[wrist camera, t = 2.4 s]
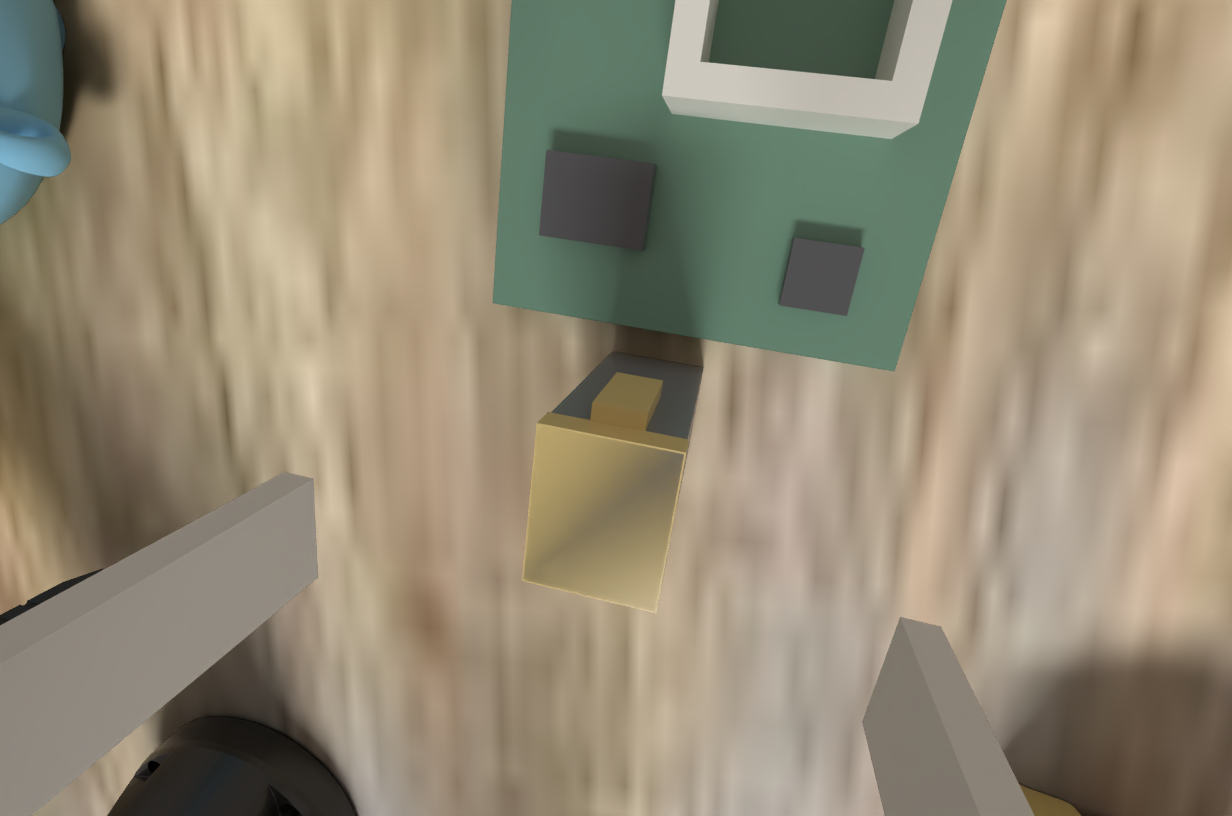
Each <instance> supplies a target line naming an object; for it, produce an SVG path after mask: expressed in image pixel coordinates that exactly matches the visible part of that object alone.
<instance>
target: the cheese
mask: <svg viewBox="0 0 1232 816" xmlns="http://www.w3.org/2000/svg"><path fill="white" fill-rule="evenodd" d="M1020 787H1021V789H1022V791H1023V793H1024V795H1025V797H1026V799H1027V801H1028V803H1029V806H1030V808H1031V810H1032V812H1033V814H1034V816H1081V815H1080V814H1079V812H1078V811H1077V810H1076V809H1075V807H1074V806H1072V805H1071V804H1070V803H1067V802H1065V801H1063V800H1060V799H1057V798H1054V797H1052V796H1049V795H1047V794H1044V793H1041V792H1038V791H1035V790H1032V789H1029V788H1026V787H1024V786H1022V785H1020Z"/></svg>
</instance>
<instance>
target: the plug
mask: <svg viewBox="0 0 1232 816" xmlns="http://www.w3.org/2000/svg"><path fill="white" fill-rule="evenodd" d="M702 373H703V367H697V366H691V365H686V364H680V363H674V362H669V361H663V360H658V359H652V358H646V357H641V356H635V355H629V354H624V353H618V352H613V351H612V352H611V353H610V354H609V355H608V356H607V357H606V358H605V359H604V360H603V361H602V362H601V363H600V364H599V365H598V366H597V367H596V368H595V369H594V370H593V371H592V372H591V373H590V374H589V375H588V376H587V377H586V378H585V379H584V380H583V381H582V382H581V383H580V384H579V385H578V386H577V387H576V388H575V389H574V390H573V391H572V392H571V393H570V394H569V395H568V396H567V397H566V398H565V399H564V400H563V401H562V402H561V403H560V404H559V405H558V406H557V407H556V408H555V409H554V410H553V411H552V412H548V413H547V414H546V415H545V416H544V417H543V418H542V419H541V420H539V421H538V422H537V428H536V439H535V449H534V460H533V470H532V481H531V491H530V502H529V512H528V523H527V533H526V544H525V554H524V565H523V575H522V581H525V582H529V583H533V584H538V585H542V586H546V587H550V588H554V589H558V590H562V591H566V592H570V593H575V594H579V595H583V596H587V597H591V598H595V599H599V600H603V601H608V602H612V603H616V604H620V605H624V606H628V607H632V608H636V609H640V610H645V611H649V612H653V613H656V611H657V606H658V601H659V596H660V591H661V586H662V581H663V575H664V570H665V565H666V560H667V554H668V549H669V544H670V538H671V533H672V528H673V523H674V517H675V512H676V507H677V502H678V497H679V493H680V488H681V483H682V478H683V473H684V468H685V463H686V458H687V452H688V447H689V442H690V437H691V431H692V426H693V421H694V415H695V410H696V405H697V400H698V394H699V389H700V384H701V379H702Z"/></svg>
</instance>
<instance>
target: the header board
mask: <svg viewBox="0 0 1232 816" xmlns="http://www.w3.org/2000/svg"><path fill="white" fill-rule="evenodd" d="M1006 1H1007V0H512V6H511V22H510V37H509V53H508V69H507V85H506V101H505V116H504V132H503V148H502V164H501V179H500V195H499V211H498V227H497V243H496V258H495V274H494V290H493V303H495V304H501V305H507V306H513V307H519V308H524V309H530V310H536V311H542V312H548V313H554V314H560V315H566V316H571V317H577V318H583V319H589V320H595V321H601V322H607V323H613V324H618V325H624V326H630V327H636V328H642V329H648V330H654V331H660V332H665V333H671V334H677V335H683V336H689V337H695V338H701V339H707V340H712V341H718V342H724V343H730V344H736V345H742V346H748V347H754V348H759V349H765V350H771V351H777V352H783V353H789V354H795V355H801V356H806V357H812V358H818V359H824V360H830V361H836V362H842V363H848V364H854V365H859V366H865V367H871V368H877V369H883V370H889V371H895V368H896V365H897V361H898V358H899V355H900V351H901V348H902V345H903V341H904V338H905V335H906V332H907V328H908V325H909V322H910V318H911V315H912V312H913V308H914V305H915V302H916V298H917V295H918V292H919V288H920V285H921V282H922V279H923V275H924V272H925V269H926V265H927V262H928V259H929V255H930V252H931V249H932V245H933V242H934V239H935V236H936V232H937V229H938V226H939V222H940V219H941V216H942V212H943V209H944V206H945V202H946V199H947V196H948V193H949V189H950V186H951V183H952V179H953V176H954V173H955V169H956V166H957V163H958V159H959V156H960V153H961V150H962V146H963V143H964V140H965V136H966V133H967V130H968V126H969V123H970V120H971V116H972V113H973V110H974V107H975V103H976V100H977V97H978V93H979V90H980V87H981V83H982V80H983V77H984V73H985V70H986V67H987V64H988V60H989V57H990V54H991V50H992V47H993V44H994V40H995V37H996V34H997V30H998V27H999V24H1000V20H1001V17H1002V14H1003V11H1004V7H1005V4H1006Z"/></svg>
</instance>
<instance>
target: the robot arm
mask: <svg viewBox="0 0 1232 816" xmlns="http://www.w3.org/2000/svg"><path fill="white" fill-rule="evenodd" d="M317 578H318V565H317V545H316V525H315V505H314V484H313V479H312V478H308V477H303V476H299V475H295V474H291V473H286V472H284V473H282V474H280V475H278V476H276V477H274V478H272V479H271V480H269V481H267V482H265V483H263V484H261V485H259V486H258V487H256V488H254V489H252V490H250V491H248V492H246V493H245V494H243V495H241V496H239V497H237V498H235V499H234V500H232V501H230V502H228V503H226V504H224V505H222V506H221V507H219V508H217V509H215V510H213V511H211V512H209V513H208V514H206V515H204V516H202V517H200V518H198V519H197V520H195V521H193V522H191V523H189V524H187V525H185V526H184V527H182V528H180V529H178V530H176V531H174V532H172V533H171V534H169V535H167V536H165V537H163V538H161V539H159V540H158V541H156V542H154V543H152V544H150V545H148V546H147V547H145V548H143V549H141V550H139V551H137V552H135V553H134V554H132V555H130V556H128V557H126V558H124V559H122V560H121V561H119V562H117V563H115V564H113V565H111V566H109V567H108V568H106V569H100V570H97V571H94V572H91V573H88V574H86V575H83V576H80V577H77V578H74V579H71V580H68V581H65V582H62V583H60V584H58V585H57V586H55V587H53V588H51V589H49V590H47V591H45V592H43V593H41V594H39V595H38V596H36V597H34V598H32V599H30V600H28V601H27V603H26V604H25V605H24V606H22V605H19V606H17V607H15V608H13V609H11V610H9V611H7V612H5V613H3V614H1V615H0V816H32V815H33V814H34V813H35V812H37V811H38V810H39V809H40V808H41V807H43V806H44V805H45V804H46V803H47V802H49V801H50V800H51V799H52V798H53V797H55V796H56V795H57V794H58V793H59V792H61V791H62V790H63V789H64V788H65V787H67V786H68V785H69V784H70V783H71V782H73V781H74V780H75V779H76V778H78V777H79V776H80V775H81V774H82V773H84V772H85V771H86V770H87V769H88V768H90V767H91V766H92V765H93V764H94V763H96V762H97V761H98V760H99V759H100V758H102V757H103V756H104V755H105V754H106V753H108V752H109V751H110V750H111V749H112V748H114V747H115V746H116V745H117V744H118V743H120V742H121V741H122V740H123V739H124V738H126V737H127V736H128V735H129V734H130V733H132V732H133V731H134V730H135V729H136V728H138V727H139V726H140V725H141V724H142V723H144V722H145V721H146V720H147V719H148V718H150V717H151V716H152V715H153V714H154V713H156V712H157V711H158V710H159V709H160V708H162V707H163V706H164V705H165V704H167V703H168V702H169V701H170V700H171V699H173V698H174V697H175V696H176V695H177V694H179V693H180V692H181V691H182V690H183V689H185V688H186V687H187V686H188V685H189V684H191V683H192V682H193V681H194V680H195V679H197V678H198V677H199V676H200V675H201V674H203V673H204V672H205V671H206V670H207V669H209V668H210V667H211V666H212V665H213V664H215V663H216V662H217V661H218V660H219V659H221V658H222V657H223V656H224V655H225V654H227V653H228V652H229V651H230V650H231V649H233V648H234V647H235V646H236V645H237V644H239V643H240V642H241V641H242V640H243V639H245V638H246V637H247V636H248V635H249V634H251V633H252V632H253V631H254V630H255V629H257V628H258V627H259V626H260V625H262V624H263V623H264V622H265V621H266V620H268V619H269V618H270V617H271V616H272V615H274V614H275V613H276V612H277V611H278V610H280V609H281V608H282V607H283V606H284V605H286V604H287V603H288V602H289V601H290V600H292V599H293V598H294V597H295V596H296V595H298V594H299V593H300V592H301V591H302V590H304V589H305V588H306V587H307V586H308V585H310V584H311V583H312V582H313V581H314V580H316V579H317ZM862 722H863V727H864V731H865V735H866V739H867V743H868V747H869V751H870V756H871V760H872V764H873V768H874V772H875V776H876V780H877V785H878V789H879V793H880V797H881V801H882V805H883V809H884V814H885V816H1034V814H1033V812H1032V810H1031V808H1030V806H1029V803H1028V801H1027V799H1026V797H1025V795H1024V793H1023V791H1022V789H1021V787H1020V785H1019V783H1018V781H1017V779H1016V777H1015V775H1014V773H1013V771H1012V769H1011V767H1010V765H1009V763H1008V761H1007V759H1006V757H1005V755H1004V753H1003V751H1002V749H1001V747H1000V745H999V743H998V741H997V739H996V737H995V735H994V733H993V731H992V729H991V727H990V725H989V723H988V721H987V719H986V717H985V714H984V712H983V710H982V708H981V706H980V704H979V702H978V700H977V698H976V696H975V694H974V692H973V690H972V688H971V686H970V684H969V682H968V680H967V678H966V676H965V674H964V672H963V670H962V668H961V666H960V664H959V662H958V660H957V658H956V656H955V654H954V652H953V650H952V648H951V646H950V644H949V642H948V640H947V638H946V636H945V634H944V632H943V630H942V628H941V627H940V626H936V625H932V624H928V623H923V622H919V621H915V620H911V619H906V618H902V617H900V619H899V622H898V625H897V627H896V630H895V633H894V636H893V639H892V641H891V644H890V647H889V650H888V652H887V655H886V658H885V661H884V663H883V666H882V669H881V672H880V674H879V677H878V680H877V683H876V685H875V688H874V691H873V694H872V696H871V699H870V702H869V705H868V707H867V710H866V713H865V716H864V718H863V721H862ZM107 816H355V814H354V811H353V809H352V806H351V804H350V802H349V800H348V799H347V797H346V795H345V793H344V792H343V790H342V789H341V787H340V786H339V784H338V783H337V782H336V780H335V779H334V778H333V777H332V776H331V774H330V773H329V772H328V771H327V770H326V769H325V768H324V767H323V766H322V765H321V764H320V763H319V762H318V761H317V760H316V759H315V758H314V757H313V756H311V755H310V754H309V753H308V752H307V751H305V750H304V749H303V748H301V747H300V746H298V745H297V744H296V743H294V742H293V741H291V740H289V739H288V738H286V737H284V736H283V735H281V734H279V733H277V732H275V731H273V730H271V729H268V728H266V727H264V726H261V725H259V724H256V723H253V722H249V721H246V720H241V719H237V718H230V717H207V718H201V719H197V720H194V721H191V722H189V723H187V724H185V725H184V726H182V727H181V728H179V729H178V730H177V731H176V732H175V733H174V734H172V735H171V736H170V737H169V738H168V739H167V740H166V741H165V742H164V743H163V744H161V745H160V746H159V747H158V748H157V749H156V750H155V751H154V752H153V753H151V754H150V756H149V757H148V758H147V759H146V760H145V761H144V762H143V763H142V765H141V766H140V768H139V769H138V770H137V772H136V773H135V775H134V777H133V779H132V780H131V781H130V783H129V784H128V786H127V787H126V788H125V790H124V791H123V793H122V794H121V796H120V797H119V799H118V800H117V802H116V803H115V805H114V806H113V808H112V809H111V811H110V812H109V814H108V815H107Z"/></svg>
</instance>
